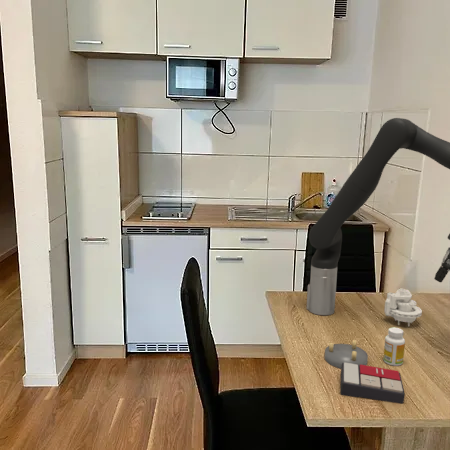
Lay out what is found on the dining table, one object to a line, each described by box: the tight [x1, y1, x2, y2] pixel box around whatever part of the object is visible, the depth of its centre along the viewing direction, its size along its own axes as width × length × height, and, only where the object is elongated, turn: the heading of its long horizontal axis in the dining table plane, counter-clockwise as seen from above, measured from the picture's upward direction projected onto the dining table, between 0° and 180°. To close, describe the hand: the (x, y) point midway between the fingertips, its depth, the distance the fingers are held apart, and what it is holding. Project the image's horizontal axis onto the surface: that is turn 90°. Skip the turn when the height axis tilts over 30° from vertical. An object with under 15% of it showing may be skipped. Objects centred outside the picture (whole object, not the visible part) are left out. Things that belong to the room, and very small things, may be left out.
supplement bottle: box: [382, 327, 406, 367], centre depth 134 cm, size 5×5×10 cm
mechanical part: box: [383, 287, 423, 327], centre depth 162 cm, size 11×12×12 cm
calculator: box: [339, 362, 406, 404], centre depth 121 cm, size 11×4×15 cm
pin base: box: [324, 339, 369, 370], centre depth 136 cm, size 12×12×4 cm
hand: (437, 279), depth 136 cm, fingers open, 8 cm apart
